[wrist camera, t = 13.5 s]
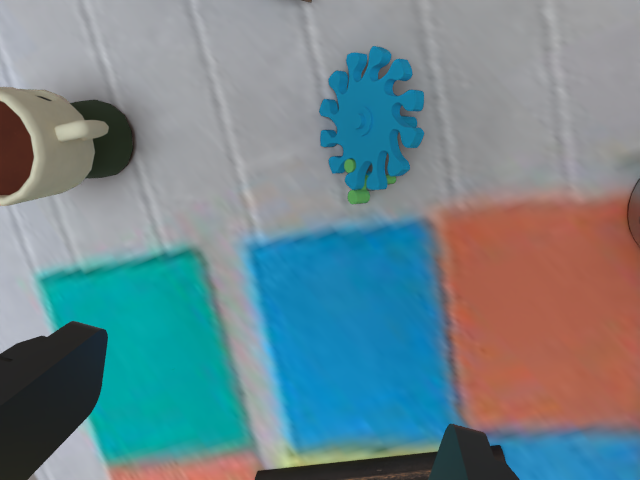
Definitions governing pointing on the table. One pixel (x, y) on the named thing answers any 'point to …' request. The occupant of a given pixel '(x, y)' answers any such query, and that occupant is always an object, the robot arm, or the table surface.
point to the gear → (371, 122)
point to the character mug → (56, 143)
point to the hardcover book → (366, 469)
